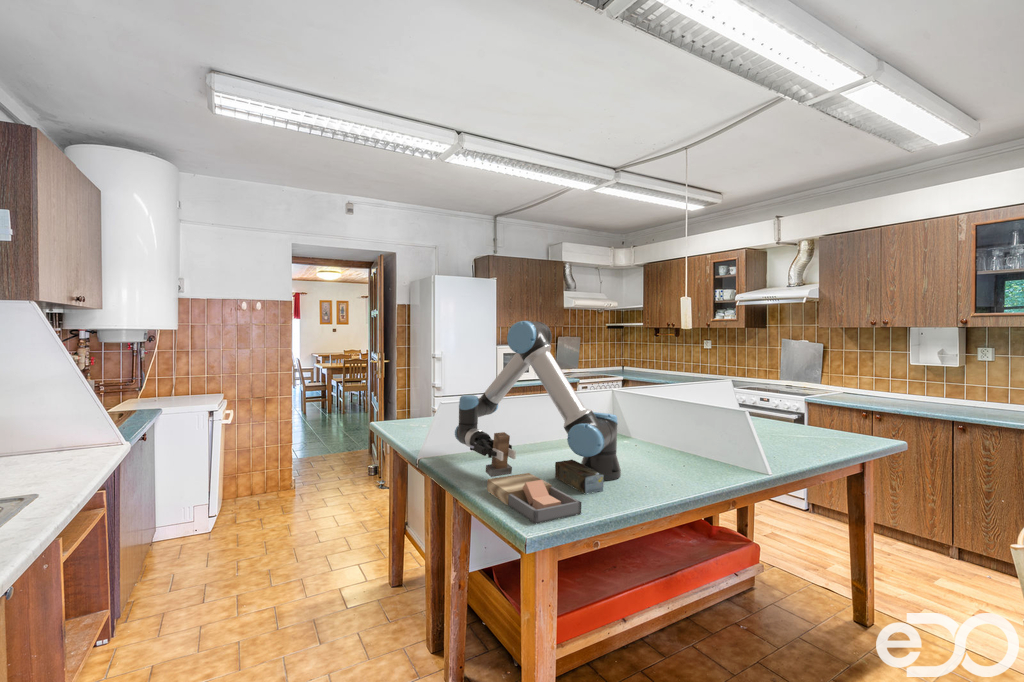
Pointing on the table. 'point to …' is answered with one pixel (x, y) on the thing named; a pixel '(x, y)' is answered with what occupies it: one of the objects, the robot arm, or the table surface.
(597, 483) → the beverage carton
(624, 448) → the table surface
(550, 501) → the tile front
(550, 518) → the tray
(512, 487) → the board
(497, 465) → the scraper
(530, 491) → the tile rear
